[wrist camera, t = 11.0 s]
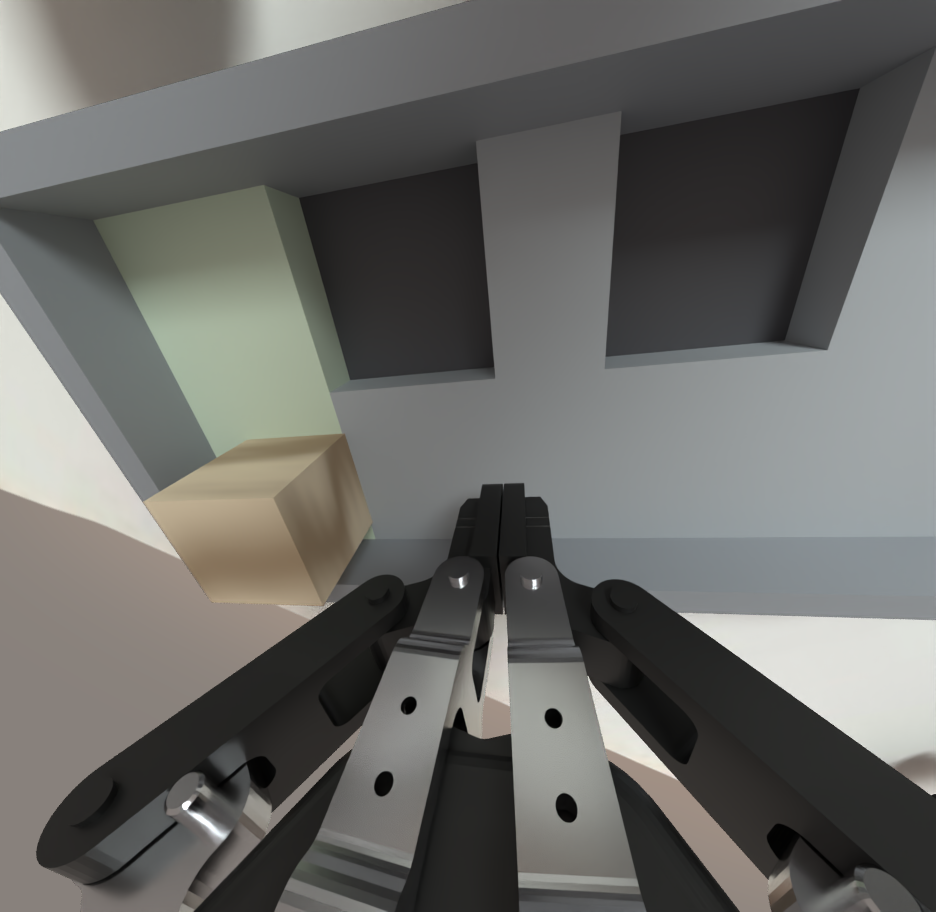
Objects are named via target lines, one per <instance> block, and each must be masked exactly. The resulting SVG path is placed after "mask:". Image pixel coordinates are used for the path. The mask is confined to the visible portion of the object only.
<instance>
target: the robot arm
mask: <svg viewBox="0 0 936 912" xmlns="http://www.w3.org/2000/svg"><path fill="white" fill-rule="evenodd" d="M503 600H504V609H505V614H507V631H508V674H509V695H510V716H511V734H508V735H503V736H499V737H494V738H490V739H482V714H483V704H484V697H485V691H486V684H487V677H488V671H489V664H490V657H491V650H492V644H493V634H492V633H493V629H494V615H495V614H503ZM587 676H589V679H590V681H591V682H592V684H593V685H594V686H595V688H596V689H597V690H598V691H599V692H600V693H601V694H602V696H603V697H604V698H605V699H606V700H607V701H608V702H609V703H610V704H611V706H612V707H613V708H614V709H615V710H616V711H617V712H618V713H619V714H620V716H621V717H622V718H623V719H624V720H625V721H626V722H627V723H628V724H629V726H630V727H631V728H632V729H633V730H634V731H635V732H636V733H637V734H638V736H639V737H640V738H641V739H642V740H643V741H644V742H645V743H646V744H647V746H648V747H649V748H650V749H651V750H652V751H653V752H654V753H655V754H656V756H657V757H658V758H659V759H660V760H661V761H662V762H663V763H664V764H665V766H666V767H667V768H668V769H669V770H670V771H671V772H672V773H673V774H674V776H675V777H676V778H677V779H678V780H679V781H680V782H681V783H682V784H683V785H684V787H685V788H686V789H687V790H688V791H689V792H690V793H691V794H692V796H693V797H694V798H695V799H696V800H697V801H698V802H699V803H700V804H701V805H702V807H703V808H704V809H705V810H706V811H707V812H708V813H709V814H710V816H711V817H712V818H713V819H714V820H715V821H716V822H717V823H718V824H719V825H720V827H721V828H722V829H723V830H724V831H725V832H726V833H727V834H728V835H729V837H730V838H731V839H732V840H733V841H734V842H735V843H736V844H737V846H738V847H739V848H740V849H741V850H742V851H743V852H744V853H745V854H746V856H747V857H748V858H749V859H750V860H751V861H752V862H753V863H754V864H755V866H756V867H757V868H758V869H759V870H760V871H761V872H762V873H763V874H764V875H765V877H766V878H767V879H768V880H769V882H768V897H769V903H770V908H771V912H936V799H935V798H934V797H933V796H931V795H930V794H928V793H927V792H926V791H924V790H923V789H921V788H920V787H919V786H917V785H916V784H915V783H913V782H912V781H910V780H909V779H908V778H906V777H905V776H903V775H902V774H901V773H899V772H898V771H896V770H895V769H894V768H892V767H891V766H889V765H888V764H887V763H885V762H884V761H882V760H881V759H880V758H878V757H877V756H876V755H874V754H873V753H871V752H870V751H869V750H867V749H866V748H864V747H863V746H862V745H860V744H859V743H857V742H856V741H855V740H853V739H852V738H850V737H849V736H848V735H846V734H845V733H843V732H842V731H841V730H839V729H838V728H836V727H835V726H834V725H832V724H831V723H830V722H828V721H827V720H825V719H824V718H823V717H821V716H820V715H818V714H817V713H816V712H814V711H813V710H811V709H810V708H809V707H807V706H806V705H804V704H803V703H802V702H800V701H799V700H797V699H796V698H795V697H793V696H792V695H791V694H789V693H788V692H786V691H785V690H784V689H782V688H781V687H779V686H778V685H777V684H775V683H774V682H772V681H771V680H770V679H768V678H767V677H765V676H764V675H763V674H761V673H760V672H758V671H757V670H756V669H754V668H753V667H752V666H750V665H749V664H747V663H746V662H745V661H743V660H742V659H740V658H739V657H738V656H736V655H735V654H733V653H732V652H731V651H729V650H728V649H726V648H725V647H724V646H722V645H721V644H719V643H718V642H717V641H715V640H714V639H713V638H711V637H710V636H708V635H707V634H706V633H704V632H703V631H701V630H700V629H699V628H697V627H696V626H694V625H693V624H692V623H690V622H689V621H687V620H686V619H685V618H683V617H682V616H680V615H679V614H678V613H676V612H675V611H673V610H672V609H671V608H669V607H668V606H667V605H665V604H664V603H662V602H661V601H660V600H658V599H657V598H655V597H654V596H653V595H651V594H650V593H648V592H647V591H646V590H644V589H643V588H641V587H640V586H638V585H636V584H634V583H632V582H629V581H626V580H620V579H610V580H605V581H602V582H601V583H599V584H598V585H597V586H596V587H595V588H592V587H589V586H585V585H582V584H579V583H576V582H574V581H571V580H570V579H568V578H566V577H565V576H564V575H563V574H562V573H561V572H560V571H559V570H558V568H557V566H556V564H555V560H554V552H553V544H552V536H551V528H550V520H549V513H548V505H547V504H546V503H545V502H544V501H543V499H542V498H541V497H525V485H524V483H504V489H503V484H482V488H481V493H480V498H468V499H467V500H466V501H465V503H464V504H463V505H462V506H461V507H460V510H459V514H458V520H457V522H456V528H455V530H454V534H453V538H452V542H451V546H450V550H449V554H448V558H447V560H446V561H444V562H443V563H441V564H440V565H439V566H438V568H437V569H436V571H435V573H434V576H433V577H431V578H429V579H427V580H424V581H421V582H417V583H413V584H409V585H405V586H404V583H403V581H402V580H401V579H400V578H398V577H397V576H394V575H388V574H385V575H379V576H376V577H373V578H371V579H369V580H367V581H366V582H364V583H363V584H362V585H360V586H359V587H357V588H356V589H354V590H353V591H352V592H350V593H349V594H347V595H346V596H344V597H343V598H341V599H340V600H339V601H337V602H336V603H334V604H333V605H331V606H330V607H329V608H327V609H326V610H324V611H323V612H321V613H320V614H319V615H317V616H316V617H314V618H313V619H311V620H310V621H309V622H307V623H306V624H304V625H303V626H301V627H300V628H299V629H297V630H296V631H294V632H293V633H291V634H290V635H288V636H287V637H286V638H284V639H283V640H281V641H280V642H278V643H277V644H276V645H274V646H273V647H271V648H270V649H268V650H267V651H265V652H264V653H263V654H261V655H260V656H258V657H257V658H255V659H254V660H253V661H251V662H250V663H248V664H247V665H246V666H244V667H243V668H241V669H240V670H238V671H237V672H235V673H234V674H233V675H231V676H230V677H228V678H227V679H225V680H224V681H223V682H221V683H220V684H218V685H217V686H215V687H214V688H212V689H211V690H210V691H208V692H207V693H205V694H204V695H203V696H201V697H200V698H198V699H197V700H195V701H194V702H192V703H191V704H190V705H188V706H187V707H185V708H184V709H182V710H181V711H179V712H178V713H177V714H175V715H174V716H172V717H171V718H169V719H168V720H167V721H165V722H164V723H162V724H161V725H159V726H158V727H157V728H155V729H154V730H152V731H151V732H149V733H148V734H147V735H145V736H144V737H142V738H141V739H139V740H138V741H136V742H135V743H134V744H132V745H131V746H129V747H128V748H126V749H125V750H124V751H122V752H121V753H119V754H118V755H116V756H115V757H114V758H112V759H111V760H109V761H108V762H106V763H105V764H104V765H102V766H101V767H99V768H98V769H97V770H95V771H94V772H93V773H91V774H90V775H89V776H88V777H86V778H85V779H84V780H83V781H82V782H81V783H80V784H79V785H78V786H77V787H75V789H73V790H72V792H71V793H70V794H69V795H68V796H67V797H66V798H65V799H64V800H63V802H62V803H61V804H60V805H59V807H58V808H57V809H56V811H55V812H54V813H53V815H52V816H51V818H50V820H49V821H48V823H47V824H46V826H45V828H44V830H43V832H42V834H41V836H40V839H39V842H38V846H37V851H36V855H37V860H38V862H39V864H40V865H41V866H43V867H45V868H47V869H49V870H51V871H54V872H56V873H58V874H60V875H63V876H65V877H67V878H70V879H72V881H73V883H74V884H75V885H77V886H78V887H79V888H80V889H81V892H82V899H81V911H80V912H740V911H739V910H738V909H737V907H736V906H735V905H734V904H733V902H732V901H731V900H730V898H729V897H728V896H727V894H726V893H725V892H724V890H723V889H722V888H721V887H720V885H719V884H718V883H717V881H716V880H715V879H714V878H713V876H712V875H711V874H710V872H709V871H708V870H707V869H706V867H705V866H704V865H703V863H702V862H701V861H700V860H699V858H698V857H697V856H696V854H695V853H694V852H693V850H691V848H690V847H689V845H688V844H687V843H686V841H685V840H684V839H683V837H682V836H681V835H680V834H679V832H678V831H677V830H676V828H675V827H674V826H673V825H672V823H671V822H670V821H669V819H668V818H667V817H666V816H665V814H664V813H663V812H662V810H661V809H660V808H659V807H658V805H657V804H656V803H655V802H654V800H653V799H652V798H651V797H650V796H649V795H648V794H647V793H646V792H645V791H644V790H643V789H642V788H641V787H640V785H639V784H638V783H637V782H636V781H634V780H633V779H632V778H631V777H630V776H629V775H628V774H627V773H625V772H624V771H623V770H621V769H620V768H619V767H617V766H616V765H615V764H613V763H612V762H610V761H608V759H607V755H606V751H605V746H604V742H603V738H602V734H601V730H600V726H599V722H598V718H597V714H596V710H595V706H594V702H593V698H592V693H591V689H590V685H589V681H588V677H587ZM360 726H362V728H361V730H360V732H359V735H358V737H357V740H356V742H355V745H354V747H353V749H351V750H350V751H349V752H348V753H347V754H345V755H344V756H343V757H342V758H341V759H339V761H337V762H336V763H335V764H334V765H333V766H332V767H331V768H330V769H329V770H328V772H327V773H326V774H325V775H324V776H323V777H322V778H321V779H320V780H319V781H318V782H317V783H316V784H315V785H314V786H313V787H312V788H311V789H310V790H309V791H308V793H306V794H305V795H304V797H303V798H302V799H301V800H300V801H299V802H298V803H297V804H296V805H295V806H294V807H293V808H292V809H291V810H290V811H289V812H288V813H287V814H286V815H285V816H284V817H283V818H282V820H281V821H280V822H279V823H278V824H277V825H276V826H275V827H274V828H273V829H272V830H271V831H270V832H269V833H268V834H267V835H266V831H267V828H268V825H269V822H270V818H271V813H272V812H273V811H274V810H275V809H276V808H277V807H278V806H279V805H280V804H281V803H282V802H283V801H284V800H285V799H286V798H287V797H288V796H289V795H291V794H292V793H293V792H294V790H296V789H297V788H298V787H299V786H300V785H301V784H302V783H303V782H304V781H305V780H306V779H307V778H308V777H309V776H310V775H311V774H312V773H313V772H314V771H315V770H316V769H317V768H318V767H319V766H320V765H321V764H322V763H323V762H325V761H326V760H327V758H329V757H330V756H331V755H332V754H333V753H334V752H335V751H336V750H337V749H338V748H339V747H340V746H341V745H342V744H343V743H344V742H345V741H346V740H347V739H348V738H349V737H350V736H351V735H352V734H353V733H354V732H355V731H356V730H357V729H359V728H360Z"/></svg>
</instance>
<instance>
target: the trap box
mask: <svg viewBox="0 0 936 912" xmlns="http://www.w3.org/2000/svg"><path fill="white" fill-rule="evenodd" d="M0 293H1V295H2V296H3V298H4V299H5V301H6V302H7V304H8V305H9V307H10V308H11V310H12V311H13V313H14V314H15V315H16V317H17V318H18V320H19V321H20V323H21V324H22V326H23V327H24V329H25V330H26V332H27V333H28V335H29V336H30V337H31V339H32V340H33V342H34V343H35V345H36V346H37V348H38V349H39V351H40V352H41V354H42V355H43V357H44V358H45V360H46V361H47V362H48V364H49V365H50V367H51V368H52V370H53V371H54V373H55V374H56V376H57V377H58V379H59V380H60V382H61V383H62V384H63V386H64V387H65V389H66V390H67V392H68V393H69V395H70V396H71V398H72V399H73V401H74V402H75V404H76V405H77V407H78V408H79V409H80V411H81V412H82V414H83V415H84V417H85V418H86V420H87V421H88V423H89V424H90V426H91V427H92V429H93V430H94V431H95V433H96V434H97V436H98V437H99V439H100V440H101V442H102V443H103V445H104V446H105V448H106V449H107V451H108V452H109V454H110V455H111V456H112V458H113V459H114V461H115V462H116V464H117V465H118V467H119V468H120V470H121V471H122V473H123V474H124V476H125V477H126V478H127V480H128V481H129V483H130V484H131V486H132V487H133V489H134V490H135V492H136V493H137V495H138V496H139V498H140V499H141V500H142V502H143V501H145V500H147V499H148V498H150V497H152V496H153V495H155V494H157V493H158V492H160V491H162V490H163V489H165V488H167V487H168V486H170V485H172V484H174V483H175V482H177V481H179V480H180V479H182V478H184V477H185V476H187V475H189V474H190V473H192V472H194V471H195V470H197V469H199V468H200V467H202V466H204V465H205V464H207V463H209V462H210V461H212V460H214V459H215V458H217V457H219V456H220V455H222V454H224V453H225V452H227V451H229V450H231V449H232V448H234V447H236V446H237V445H239V444H241V443H242V442H244V441H246V440H250V439H266V438H281V437H297V436H312V435H328V434H343V433H345V436H346V439H347V442H348V445H349V448H350V452H351V455H352V458H353V461H354V464H355V468H356V471H357V474H358V477H359V480H360V484H361V487H362V490H363V493H364V496H365V499H366V503H367V506H368V509H369V512H370V515H371V519H372V522H373V523H372V524H371V526H370V528H369V530H368V531H367V533H366V535H365V536H364V538H363V540H362V541H361V543H360V545H359V546H358V548H357V550H356V552H355V553H354V555H353V557H352V558H351V560H350V562H349V563H348V565H347V567H346V569H345V570H344V572H343V574H342V575H341V577H340V579H339V580H338V582H337V584H336V585H335V587H334V589H333V591H332V592H331V594H330V596H329V597H328V599H327V601H326V602H337V601H339V600H340V599H341V598H343V597H344V596H346V595H347V594H349V593H350V592H352V591H353V590H354V589H356V588H357V587H359V586H360V585H362V584H363V583H364V582H366V581H367V580H369V579H371V578H373V577H376V576H379V575H385V574H388V575H394V576H397V577H398V578H400V579H401V580H402V581H403V583H404V586H405V585H409V584H413V583H417V582H421V581H424V580H427V579H429V578H431V577H433V576H434V573H435V571H436V569H437V568H438V566H439V565H440V564H441V563H443V562H444V561H446V560H447V558H448V554H449V550H450V546H451V542H452V538H453V534H454V530H455V528H456V522H457V520H458V514H459V510H460V507H461V506H462V505H463V504H464V503H465V501H466V500H467V499H468V498H480V493H481V488H482V484H503V489H504V483H524V485H525V497H541V498H542V499H543V501H544V502H545V503H546V504H547V505H548V513H549V520H550V528H551V536H552V544H553V552H554V560H555V564H556V566H557V568H558V570H559V571H560V572H561V573H562V574H563V575H564V576H565V577H566V578H568V579H570V580H571V581H574V582H576V583H579V584H582V585H585V586H589V587H592V588H595V587H596V586H597V585H598V584H599V583H601V582H602V581H605V580H610V579H620V580H626V581H629V582H632V583H634V584H636V585H638V586H640V587H641V588H643V589H644V590H646V591H647V592H648V593H650V594H651V595H653V596H654V597H655V598H657V599H658V600H660V601H661V602H662V603H664V604H665V605H667V606H668V607H669V608H671V609H672V610H673V611H675V612H679V613H713V614H747V615H781V616H815V617H849V618H882V619H916V620H936V0H470V1H467V2H463V3H460V4H456V5H452V6H449V7H445V8H442V9H438V10H434V11H431V12H427V13H424V14H420V15H417V16H413V17H409V18H406V19H402V20H399V21H395V22H391V23H388V24H384V25H381V26H377V27H374V28H370V29H366V30H363V31H359V32H356V33H352V34H349V35H345V36H341V37H338V38H334V39H331V40H327V41H323V42H320V43H316V44H313V45H309V46H306V47H302V48H298V49H295V50H291V51H288V52H284V53H280V54H277V55H273V56H270V57H266V58H263V59H259V60H255V61H252V62H248V63H245V64H241V65H237V66H234V67H230V68H227V69H223V70H220V71H216V72H212V73H209V74H205V75H202V76H198V77H194V78H191V79H187V80H184V81H180V82H177V83H173V84H169V85H166V86H162V87H159V88H155V89H152V90H148V91H144V92H141V93H137V94H134V95H130V96H126V97H123V98H119V99H116V100H112V101H109V102H105V103H101V104H98V105H94V106H91V107H87V108H83V109H80V110H76V111H73V112H69V113H66V114H62V115H58V116H55V117H51V118H48V119H44V120H40V121H37V122H33V123H30V124H26V125H23V126H19V127H15V128H12V129H8V130H5V131H1V132H0ZM144 505H145V504H144ZM146 508H147V507H146ZM148 511H149V510H148ZM150 514H151V513H150ZM152 517H153V516H152ZM153 518H154V517H153ZM154 520H155V519H154ZM155 521H156V520H155ZM156 523H157V522H156ZM157 524H158V523H157ZM159 527H160V526H159ZM161 530H162V529H161ZM163 533H164V532H163ZM165 536H166V535H165ZM167 539H168V538H167ZM168 540H169V539H168ZM169 542H170V541H169ZM170 543H171V542H170ZM171 545H172V544H171ZM172 546H173V545H172ZM174 549H175V548H174ZM176 552H177V551H176ZM178 555H179V554H178ZM180 558H181V557H180ZM181 559H182V558H181ZM182 561H183V560H182ZM183 562H184V561H183ZM184 564H185V563H184ZM185 565H186V564H185ZM187 568H188V567H187ZM188 570H189V569H188ZM189 571H190V570H189ZM191 574H192V573H191ZM193 577H194V576H193ZM195 580H196V579H195ZM196 581H197V580H196ZM197 583H198V582H197ZM198 584H199V583H198ZM199 586H200V585H199ZM200 587H201V586H200ZM202 590H203V589H202ZM203 592H204V591H203ZM204 593H205V592H204ZM206 596H207V595H206ZM503 607H504V600H503Z"/></svg>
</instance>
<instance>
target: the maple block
mask: <svg viewBox="0 0 936 912" xmlns="http://www.w3.org/2000/svg"><path fill="white" fill-rule="evenodd" d="M143 503H144V504H145V506H146V507H147V509H148V510H149V512H150V513H151V515H152V516H153V517H154V519H155V520H156V522H157V523H158V525H159V526H160V528H161V529H162V531H163V532H164V534H165V535H166V537H167V538H168V539H169V541H170V542H171V544H172V545H173V547H174V548H175V550H176V551H177V553H178V554H179V556H180V557H181V558H182V560H183V561H184V563H185V564H186V566H187V567H188V569H189V570H190V572H191V573H192V575H193V576H194V578H195V579H196V580H197V582H198V583H199V585H200V586H201V588H202V589H203V591H204V592H205V594H206V595H207V597H208V598H209V599H210V601H211V602H212V603H243V604H274V605H307V606H324V604H325V602H326V601H327V599H328V597H329V596H330V594H331V592H332V591H333V589H334V587H335V585H336V584H337V582H338V580H339V579H340V577H341V575H342V574H343V572H344V570H345V569H346V567H347V565H348V563H349V562H350V560H351V558H352V557H353V555H354V553H355V552H356V550H357V548H358V546H359V545H360V543H361V541H362V540H363V538H364V536H365V535H366V533H367V531H368V530H369V528H370V526H371V524H372V523H373V522H372V519H371V515H370V512H369V509H368V506H367V503H366V499H365V496H364V493H363V490H362V487H361V484H360V480H359V477H358V474H357V471H356V468H355V464H354V461H353V458H352V455H351V452H350V448H349V445H348V442H347V439H346V436H345V433H343V434H328V435H312V436H297V437H281V438H266V439H250V440H246V441H244V442H242V443H241V444H239V445H237V446H236V447H234V448H232V449H231V450H229V451H227V452H225V453H224V454H222V455H220V456H219V457H217V458H215V459H214V460H212V461H210V462H209V463H207V464H205V465H204V466H202V467H200V468H199V469H197V470H195V471H194V472H192V473H190V474H189V475H187V476H185V477H184V478H182V479H180V480H179V481H177V482H175V483H174V484H172V485H170V486H168V487H167V488H165V489H163V490H162V491H160V492H158V493H157V494H155V495H153V496H152V497H150V498H148V499H147V500H145V501H143Z"/></svg>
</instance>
